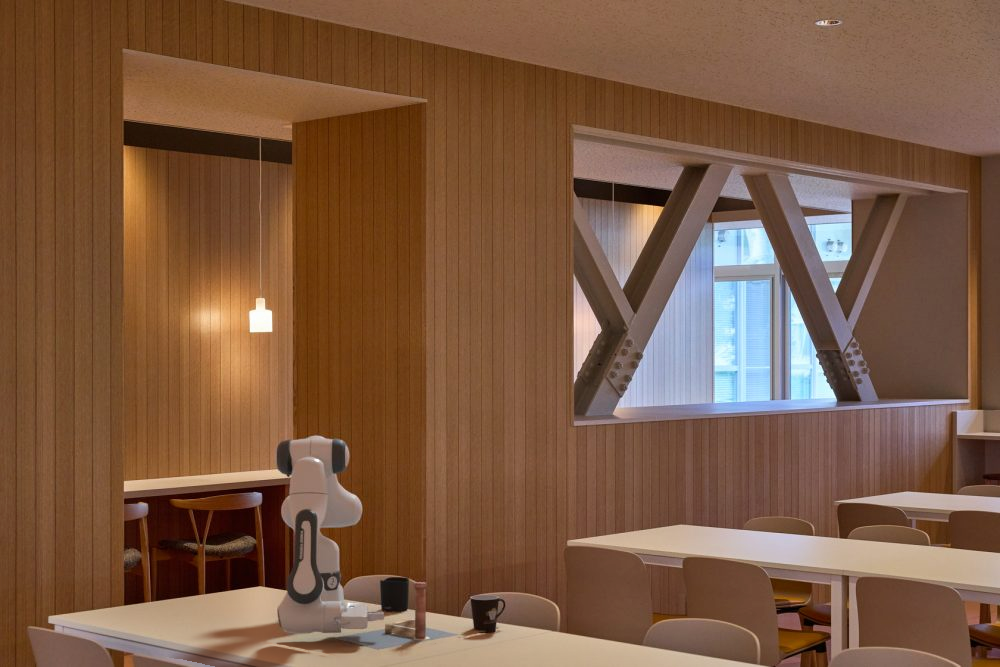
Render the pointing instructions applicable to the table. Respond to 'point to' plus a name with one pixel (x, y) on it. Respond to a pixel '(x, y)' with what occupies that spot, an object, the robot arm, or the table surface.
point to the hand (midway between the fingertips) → (384, 615)
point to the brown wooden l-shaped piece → (416, 615)
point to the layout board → (390, 638)
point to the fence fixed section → (405, 623)
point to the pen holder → (394, 594)
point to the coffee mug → (485, 612)
